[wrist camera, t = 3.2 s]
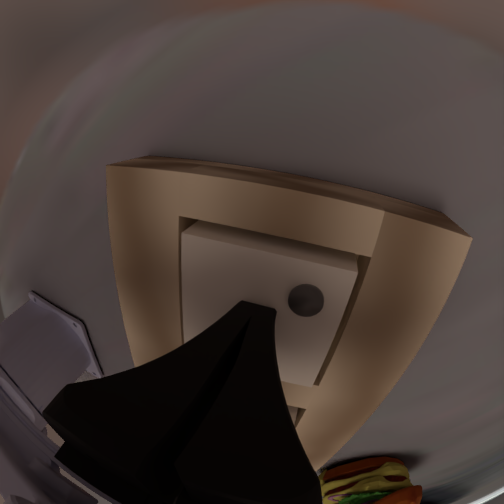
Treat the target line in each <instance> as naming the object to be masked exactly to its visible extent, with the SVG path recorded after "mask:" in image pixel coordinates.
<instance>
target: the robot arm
mask: <svg viewBox="0 0 504 504" xmlns="http://www.w3.org/2000/svg"><path fill="white" fill-rule="evenodd" d="M28 295H29V298H30V300H29V301H28V302H27V303H25V304H24V305H23V306H22V307H20V308H19V309H18V310H16V311H15V312H14V313H13V314H11V315H10V316H9V317H8V318H6V319H5V320H4V321H3V322H2V323H0V494H1V495H2V497H3V498H4V500H5V502H4V504H97V503H98V500H97V499H95V498H94V497H93V496H91V495H90V494H88V493H87V492H86V491H85V490H83V489H82V488H80V487H79V486H77V485H76V484H74V483H73V482H71V481H70V480H69V479H67V478H66V477H64V476H63V475H62V474H61V473H60V468H59V466H60V467H61V468H62V469H63V470H64V471H66V472H67V473H69V474H70V475H71V476H72V477H74V478H75V479H76V480H78V481H79V482H81V483H82V484H83V485H85V486H86V487H87V488H89V489H90V490H92V491H93V492H95V493H97V494H98V495H100V496H101V497H103V498H104V499H106V500H107V501H109V502H111V503H112V504H322V492H321V484H320V480H319V478H318V476H317V474H316V472H315V470H314V468H313V467H312V465H311V463H310V461H309V459H308V457H307V455H306V453H305V450H304V448H303V446H302V444H301V441H300V439H299V437H298V434H297V431H296V429H295V426H294V423H293V421H292V418H291V415H290V413H289V409H288V406H287V403H286V399H285V396H284V392H283V388H282V384H281V379H280V374H279V369H278V363H277V356H276V346H275V319H276V315H277V311H276V310H275V308H271V307H267V306H263V305H259V304H255V303H251V302H247V301H243V300H241V301H240V302H238V303H237V304H236V305H235V306H234V307H233V308H232V309H230V310H229V311H228V312H227V313H226V314H225V315H223V316H222V317H221V318H220V319H219V320H217V321H216V322H215V323H213V324H212V325H211V326H209V327H208V328H207V329H205V330H204V331H203V332H201V333H200V334H198V335H197V336H195V337H194V338H192V339H191V340H189V341H188V342H186V343H184V344H183V345H181V346H179V347H178V348H176V349H174V350H172V351H170V352H169V353H167V354H165V355H163V356H161V357H159V358H156V359H154V360H152V361H150V362H147V363H145V364H143V365H140V366H138V367H135V368H132V369H130V370H126V371H123V372H120V373H117V374H114V375H110V376H107V377H103V374H102V372H101V370H100V367H99V365H98V362H97V360H96V357H95V355H94V352H93V349H92V347H91V344H90V341H89V338H88V335H87V332H86V330H85V327H84V325H83V323H82V322H81V321H79V320H77V319H76V318H74V317H72V316H70V315H69V314H67V313H65V312H64V311H62V310H60V309H59V308H57V307H55V306H54V305H52V304H50V303H49V302H47V301H46V300H44V299H42V298H41V297H39V296H38V295H36V294H35V293H33V292H32V291H30V292H29V293H28ZM85 370H86V371H88V372H89V373H91V374H93V375H94V376H96V377H98V378H99V379H94V380H89V381H83V382H77V383H74V382H75V381H76V380H77V379H78V378H79V377H80V376H81V375H82V373H83V372H84V371H85ZM102 377H103V378H102ZM44 419H45V420H46V421H47V422H46V421H45V420H44ZM47 424H49V425H50V426H51V427H52V428H53V429H54V430H55V431H56V433H58V435H59V436H60V437H61V438H62V439H63V440H64V441H65V442H64V444H63V445H62V446H61V448H60V447H59V446H58V445H56V444H55V443H54V442H53V441H51V440H50V439H49V438H48V437H47V429H46V427H45V426H46V425H47Z"/></svg>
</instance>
